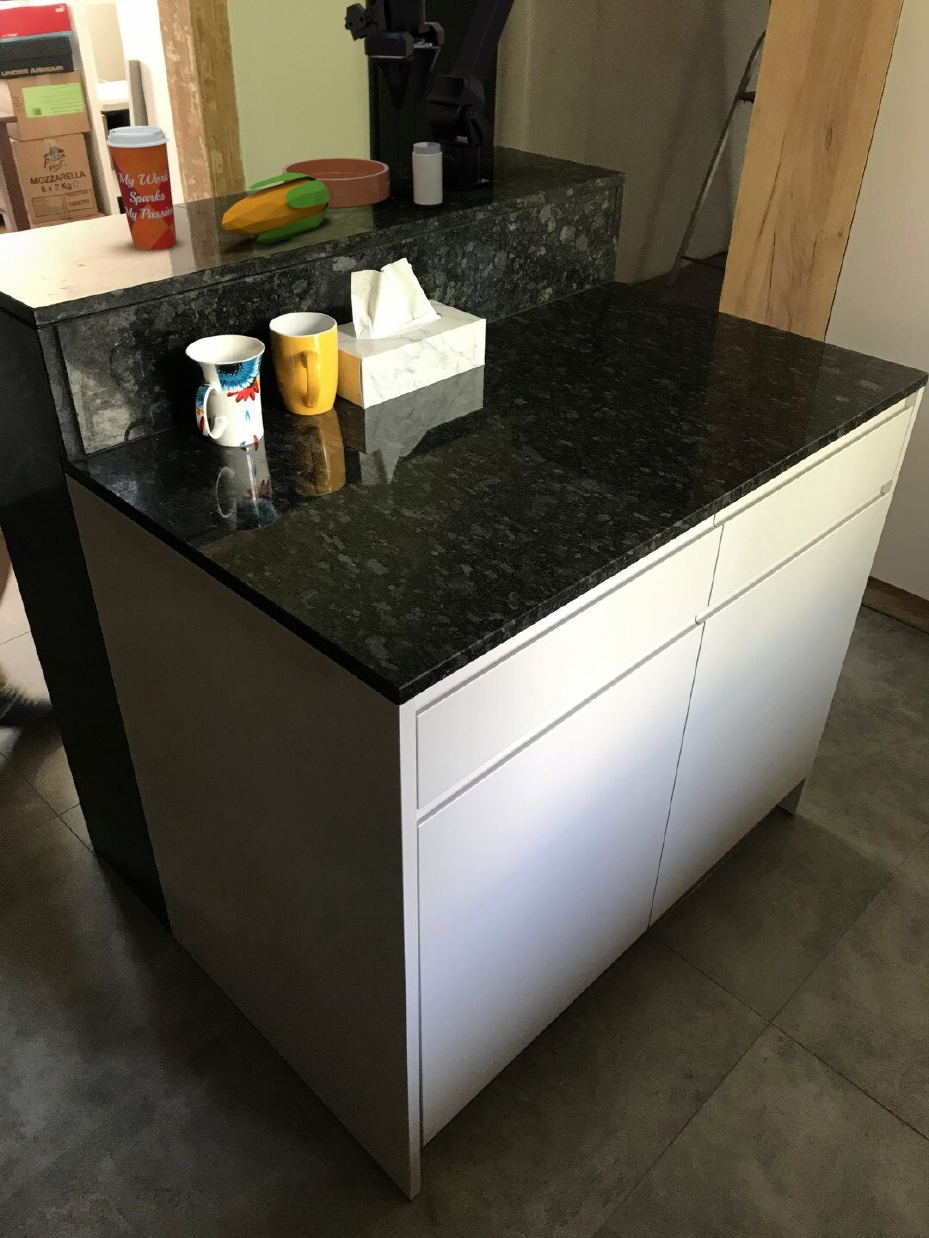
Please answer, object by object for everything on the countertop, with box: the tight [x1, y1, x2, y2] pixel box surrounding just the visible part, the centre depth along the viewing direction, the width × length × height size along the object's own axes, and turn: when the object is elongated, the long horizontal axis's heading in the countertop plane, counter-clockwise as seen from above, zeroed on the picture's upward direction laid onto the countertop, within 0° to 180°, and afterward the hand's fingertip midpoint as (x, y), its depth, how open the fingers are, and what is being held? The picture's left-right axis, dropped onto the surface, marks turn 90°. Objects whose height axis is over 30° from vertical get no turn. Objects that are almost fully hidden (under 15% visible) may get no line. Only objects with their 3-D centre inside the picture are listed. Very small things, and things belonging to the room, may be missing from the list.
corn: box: [221, 173, 330, 244], centre depth 135 cm, size 7×8×20 cm
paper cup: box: [105, 125, 177, 251], centre depth 130 cm, size 8×8×14 cm
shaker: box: [412, 141, 444, 206], centre depth 150 cm, size 4×4×8 cm
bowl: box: [281, 157, 391, 209], centre depth 154 cm, size 16×16×4 cm
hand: (407, 105), depth 149 cm, fingers open, 9 cm apart
